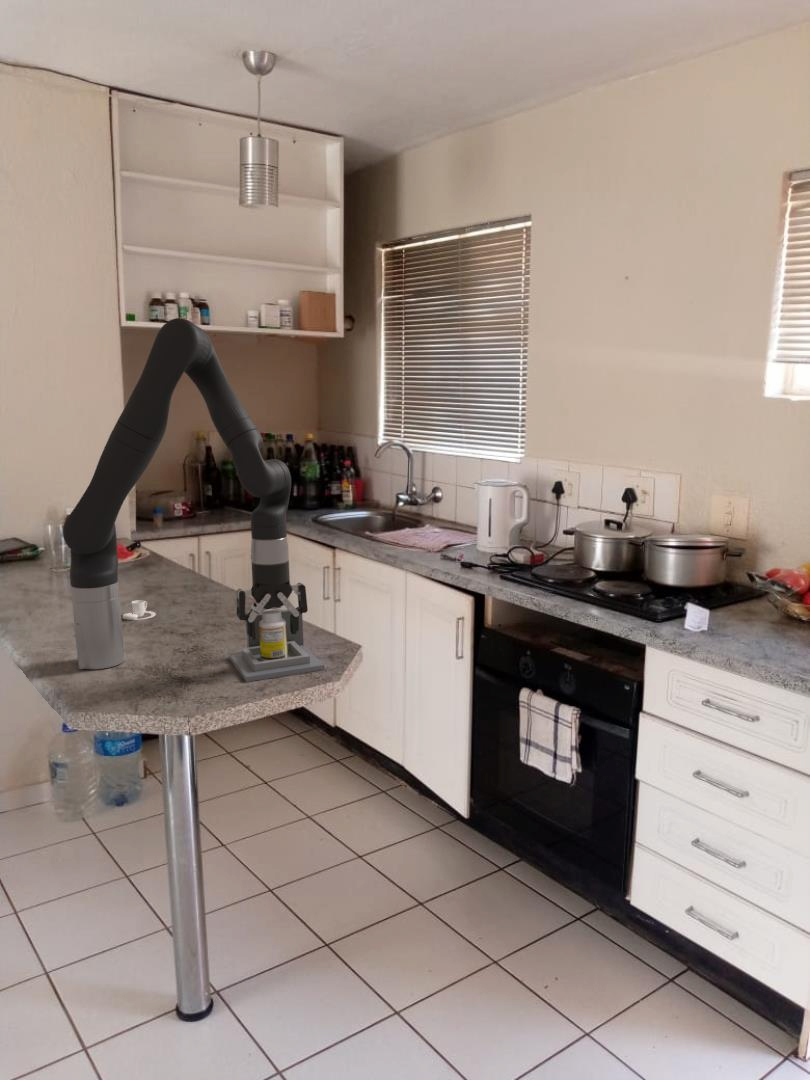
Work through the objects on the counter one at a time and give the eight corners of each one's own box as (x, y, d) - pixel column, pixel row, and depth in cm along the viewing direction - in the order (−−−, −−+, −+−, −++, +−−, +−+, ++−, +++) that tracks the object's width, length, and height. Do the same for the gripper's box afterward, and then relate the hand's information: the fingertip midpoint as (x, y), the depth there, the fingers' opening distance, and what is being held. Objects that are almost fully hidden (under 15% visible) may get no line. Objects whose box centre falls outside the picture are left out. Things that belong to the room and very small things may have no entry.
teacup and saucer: (127, 624, 207) (125, 608, 206) (114, 617, 213) (113, 602, 212) (161, 617, 212) (159, 601, 211) (148, 611, 218) (147, 596, 217)
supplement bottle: (270, 653, 178) (267, 606, 176) (292, 656, 176) (290, 609, 174) (255, 661, 173) (252, 613, 171) (278, 664, 171) (275, 616, 169)
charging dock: (246, 682, 164) (243, 637, 163) (229, 658, 179) (226, 617, 177) (324, 669, 170) (322, 626, 169) (301, 647, 185) (300, 607, 183)
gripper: (239, 566, 164) (243, 645, 167) (309, 559, 170) (312, 636, 173) (231, 558, 171) (235, 635, 174) (299, 552, 176) (301, 627, 179)
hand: (273, 635), depth 173 cm, fingers open, 8 cm apart
